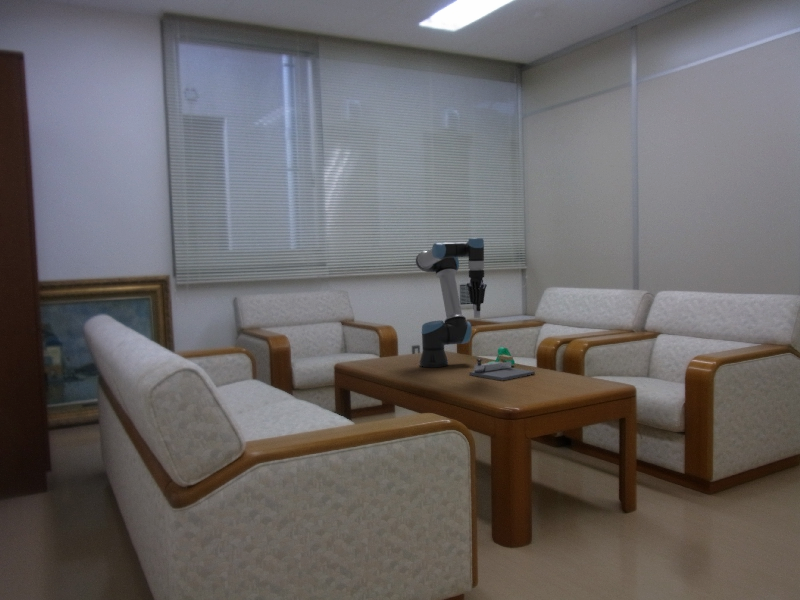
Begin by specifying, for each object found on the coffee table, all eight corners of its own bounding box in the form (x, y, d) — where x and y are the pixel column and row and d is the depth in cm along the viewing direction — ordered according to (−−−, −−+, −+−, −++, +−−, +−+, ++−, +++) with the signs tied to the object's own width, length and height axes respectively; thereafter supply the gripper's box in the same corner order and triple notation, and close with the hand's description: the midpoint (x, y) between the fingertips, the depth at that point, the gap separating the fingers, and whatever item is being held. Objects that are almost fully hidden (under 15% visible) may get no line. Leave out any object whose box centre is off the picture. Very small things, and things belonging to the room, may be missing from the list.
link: (478, 372, 315) (478, 360, 314) (472, 371, 319) (471, 359, 319) (511, 367, 325) (511, 356, 325) (505, 366, 329) (505, 354, 329)
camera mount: (505, 364, 347) (504, 345, 346) (514, 366, 340) (514, 346, 339) (486, 367, 341) (486, 347, 340) (496, 369, 334) (495, 348, 334)
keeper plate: (469, 375, 319) (468, 359, 318) (501, 369, 332) (501, 354, 332) (502, 380, 301) (502, 364, 301) (535, 374, 315) (534, 358, 314)
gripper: (490, 269, 318) (491, 318, 321) (474, 268, 329) (475, 315, 332) (478, 270, 314) (479, 319, 317) (462, 269, 326) (463, 317, 328)
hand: (477, 317), depth 324 cm, fingers closed
